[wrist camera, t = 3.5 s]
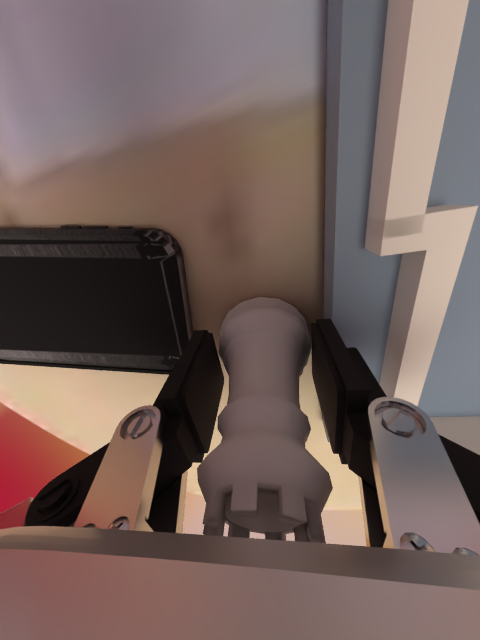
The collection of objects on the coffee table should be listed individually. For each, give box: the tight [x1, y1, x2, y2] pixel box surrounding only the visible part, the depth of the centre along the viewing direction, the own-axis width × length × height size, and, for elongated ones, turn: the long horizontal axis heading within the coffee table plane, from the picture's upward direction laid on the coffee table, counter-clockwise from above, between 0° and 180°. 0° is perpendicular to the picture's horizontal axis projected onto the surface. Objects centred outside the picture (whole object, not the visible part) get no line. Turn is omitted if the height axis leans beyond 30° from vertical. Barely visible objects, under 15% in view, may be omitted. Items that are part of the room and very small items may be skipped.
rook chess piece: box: [197, 297, 333, 543], centre depth 8 cm, size 4×4×8 cm
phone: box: [0, 226, 193, 375], centre depth 12 cm, size 8×1×15 cm
